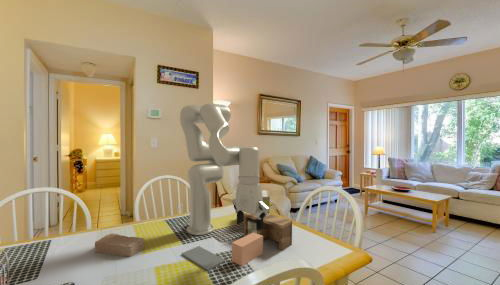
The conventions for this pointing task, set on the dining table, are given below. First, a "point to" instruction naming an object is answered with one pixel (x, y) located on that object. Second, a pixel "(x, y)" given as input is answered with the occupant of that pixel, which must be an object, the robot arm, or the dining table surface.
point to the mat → (203, 258)
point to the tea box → (266, 199)
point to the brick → (119, 245)
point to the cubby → (270, 228)
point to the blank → (247, 248)
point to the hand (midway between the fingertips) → (249, 226)
